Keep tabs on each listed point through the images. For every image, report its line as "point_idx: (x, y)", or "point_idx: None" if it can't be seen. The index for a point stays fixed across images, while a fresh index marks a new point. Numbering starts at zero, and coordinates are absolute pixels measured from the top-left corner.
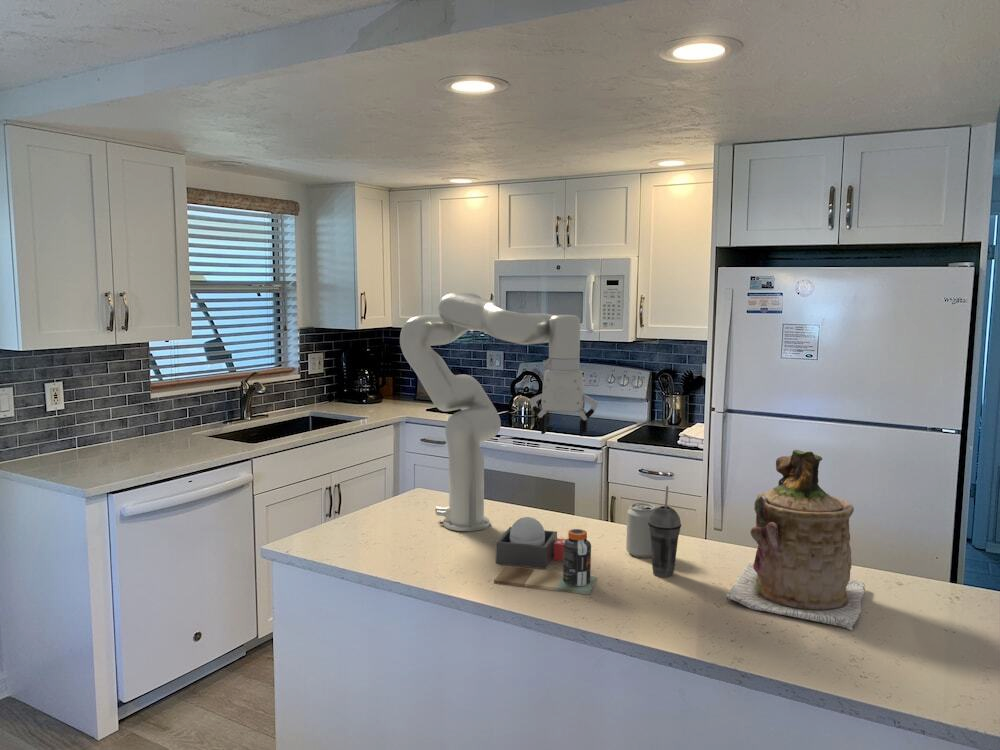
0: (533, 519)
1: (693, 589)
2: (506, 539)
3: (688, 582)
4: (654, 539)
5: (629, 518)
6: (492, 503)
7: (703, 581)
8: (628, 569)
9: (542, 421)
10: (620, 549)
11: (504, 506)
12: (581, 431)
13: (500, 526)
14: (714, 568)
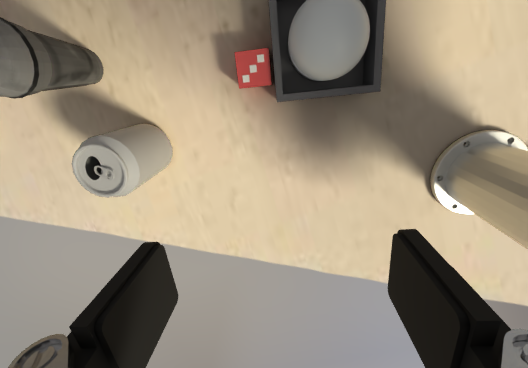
0: (318, 33)
1: (20, 15)
2: (372, 36)
3: None
4: (37, 35)
5: (131, 144)
6: None
7: None
8: (141, 63)
9: (462, 291)
10: (185, 152)
11: None
12: (136, 258)
13: (407, 186)
14: (37, 125)
